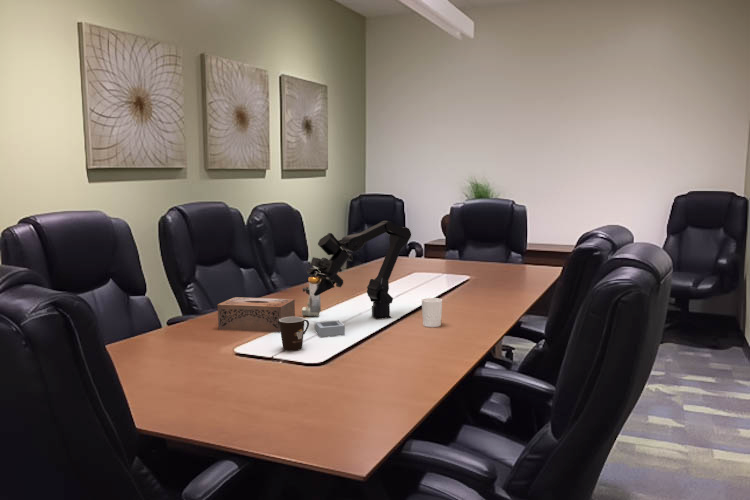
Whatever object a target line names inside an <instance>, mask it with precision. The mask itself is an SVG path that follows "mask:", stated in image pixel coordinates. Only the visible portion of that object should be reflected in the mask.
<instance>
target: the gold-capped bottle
mask: <svg viewBox="0 0 750 500" xmlns="http://www.w3.org/2000/svg"><path fill="white" fill-rule="evenodd" d="M320 281H321V277H317V276H314V277H311V276H309V277H308V283H309V284H308V285H309V286H308V287H309V289H310V312H321V311H322V308H321V306H322V305H321V304H322V303H321V294H319V295H317V296H315V295H314V293H315V291H316V289H317V288H318V286H319V285H320Z"/></svg>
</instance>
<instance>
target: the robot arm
mask: <svg viewBox="0 0 750 500" xmlns="http://www.w3.org/2000/svg"><path fill="white" fill-rule="evenodd" d="M383 234H387V235H388V236H389V238H388V239H389V247H388V249H387V251H386V254H385V256H384V259H383V261H382V264H381V265H380V268H379V271H378V274H377V276H376V277H375V278H370V280H369V282H368V285H367V286H366V289H367V290H366V294H367V296H368V297H369V301H370V302H372V305H371V317H372V318H374V319H376V320H380V319H382V318H383V319H392V316H391V312H390V311H391V308H390V307H391V305H390V304H392V303H393V299H394V298H393V296H391V295H390V294H389V290H390V285H389V283H390V282H389V281H390V277H391V275H392V272H393V270H394V268H395V266H396V263H397V260H398V258H399V255H400V252H401V250H402V249H404V247H406V245H407V244H408V243H409V241H410V240H411V237H412V233H411V229H410V228H409V227H406V226H401V225H398V224H396V223H394V222H392V221H389V220H383V221H382V220H381V221H380V222H379V223H377V224H374V225H373V226H371V227H369V228H367V229H365V230H362V231H361V232H359V233H352V234H349V235H345V236H343V237H342V238H341V239H337V238H336V237H335V235H334V233H331V232H328V233H327V234H326V235H324V236H322V237H320V239H318V240H319V241H318V243H317V245H318V246H319V248H320V249H321V250H322V251H323V252H324V253H325V254H326V255H328V256H331V257H330V258H329V259H328V258H327V257H322V258H318V257H315V256H312V258H311V261H310V263H309V265H310V266H312V267H309V268H308V270H307V271H306V273H307V274H308V275H309V277H314V276H317V277H321V281H320V285H319V286H318V288H317V289H316V291H315V293H314V295H315V296H317V295H319V294H320V295H321V294H323V293H325V292H327V291H329V290H331V289H334V288H335V286H336V287H337V288H339V289H340V288H342V286H343V285H344V280H343V278H342V277H341V276H340V275H339V274H338V273H341V272H342V271H343V269H342V268H343V267H344V265H345V264H346V263H347V261H348V262H354V258H353V254H352V253H353V252H357V251H359V250H360V249H361V248H363V247H364V245H365V244H366V243H368V242H369V241H371V240H373V239H375V238H377V237H379V236H381V235H383ZM349 252H352V253H349ZM314 267H316V268H314ZM308 293H309V294H310V289H309V291H308Z"/></svg>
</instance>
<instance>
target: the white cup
mask: <svg viewBox="0 0 750 500" xmlns="http://www.w3.org/2000/svg"><path fill="white" fill-rule="evenodd" d="M421 311H422V312H421V313H422V314H421V315H422V325H423V327H426V328H438V327H441V325H442V324H441V323H442V313H443V312H442V311H443V299H442V298H438V297H426V298H422V299H421Z"/></svg>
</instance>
